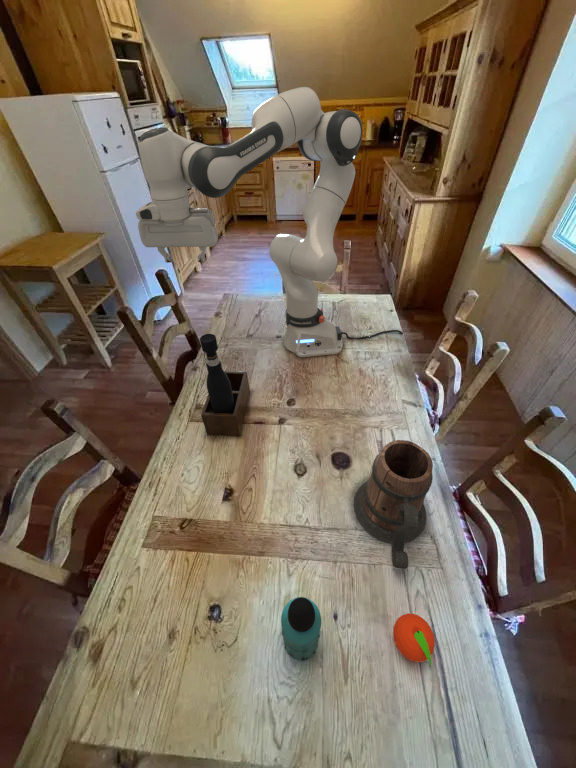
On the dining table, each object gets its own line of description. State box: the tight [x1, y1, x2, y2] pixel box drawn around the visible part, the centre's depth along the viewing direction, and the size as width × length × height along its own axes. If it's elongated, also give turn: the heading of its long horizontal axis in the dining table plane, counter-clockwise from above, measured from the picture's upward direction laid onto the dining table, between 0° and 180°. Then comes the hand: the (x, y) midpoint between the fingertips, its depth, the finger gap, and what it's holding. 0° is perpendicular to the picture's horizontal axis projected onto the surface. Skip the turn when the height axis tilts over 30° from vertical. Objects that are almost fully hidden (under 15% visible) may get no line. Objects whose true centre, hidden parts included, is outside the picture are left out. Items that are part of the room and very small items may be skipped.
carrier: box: [200, 370, 251, 437], centre depth 103 cm, size 10×19×9 cm, turn 176°
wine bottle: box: [199, 333, 235, 414], centre depth 92 cm, size 6×6×30 cm
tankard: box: [353, 439, 434, 570], centre depth 72 cm, size 24×17×20 cm
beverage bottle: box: [280, 596, 322, 663], centre depth 56 cm, size 6×7×20 cm
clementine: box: [392, 613, 436, 667], centre depth 60 cm, size 8×7×7 cm
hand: (185, 261), depth 96 cm, fingers open, 8 cm apart
